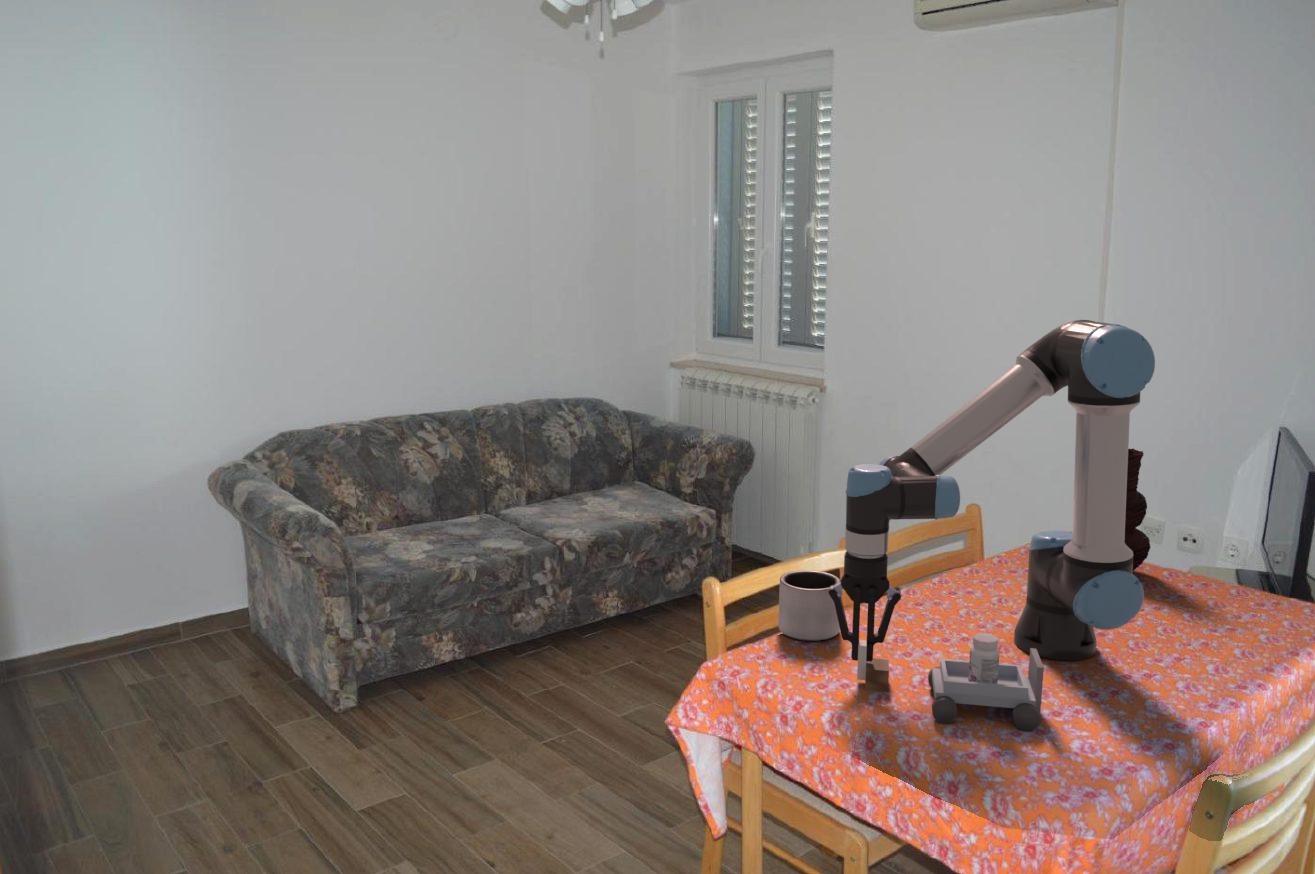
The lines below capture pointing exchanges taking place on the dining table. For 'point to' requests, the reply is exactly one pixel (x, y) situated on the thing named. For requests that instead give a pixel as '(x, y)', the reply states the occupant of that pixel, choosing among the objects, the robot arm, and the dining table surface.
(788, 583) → the planter
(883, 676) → the block
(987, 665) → the pill bottle
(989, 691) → the trolley
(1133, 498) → the vase
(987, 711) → the dining table surface
